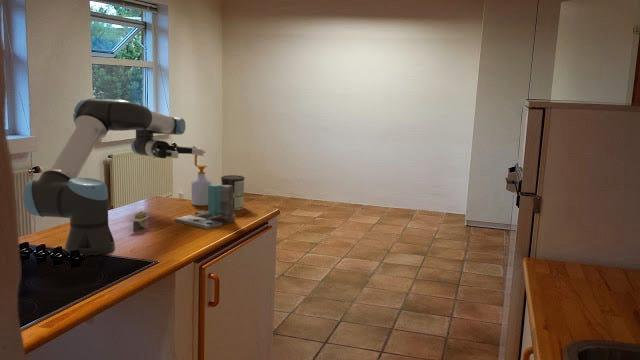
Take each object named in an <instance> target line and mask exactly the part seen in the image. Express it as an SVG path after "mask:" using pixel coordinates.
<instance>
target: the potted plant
mask: <svg viewBox="0 0 640 360" xmlns="http://www.w3.org/2000/svg"><path fill="white" fill-rule="evenodd" d="M149 217H150V215H149V214H147V211H145V210H144V211H143V210H142V211H140V212H138V213H135V214H134V217H132V218H130V219H129V222H132V225H133V227H132V229H133V232H136V231H137V230H140V229H142V228H143V229H145V228H146V225H147V224H146V223H147V222H146V219H147V218H149Z"/></svg>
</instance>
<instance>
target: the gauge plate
mask: <svg viewBox="0 0 640 360" xmlns="http://www.w3.org/2000/svg"><path fill="white" fill-rule="evenodd" d="M174 222H176V223H180V224H185V225H187V226H188V225H189V226H193V227H197V228H201V229H204V230H210V229H213V228H218V227H222V226H223V223H222V222H218V221H213V220H209V219H205V218H200V217H196V216H195V215H191V214H189V215H184V216H180V217H179V216H178V217H174Z"/></svg>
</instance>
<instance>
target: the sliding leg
mask: <svg viewBox="0 0 640 360" xmlns="http://www.w3.org/2000/svg"><path fill="white" fill-rule="evenodd" d="M221 185H222V184H221ZM221 185H220V184H215V183H214V184H212V185H208V205H207V211H206V210H205V211H206V213H201V214H197V215H196V217H197V216H201V215H206V214H208V215H212V216H216V215H220V186H221Z"/></svg>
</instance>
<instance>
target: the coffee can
mask: <svg viewBox="0 0 640 360" xmlns="http://www.w3.org/2000/svg"><path fill="white" fill-rule="evenodd" d="M220 179H221V183H220V184H221V186H222V185H232V186H233V211H240V210H243V209H244V208H245V206H244V205H245V176H243V175H233V174H232V175H228V174H227V175H222V176H221V178H220Z"/></svg>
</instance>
